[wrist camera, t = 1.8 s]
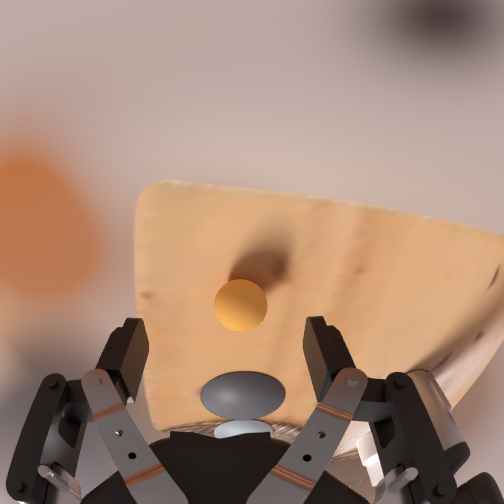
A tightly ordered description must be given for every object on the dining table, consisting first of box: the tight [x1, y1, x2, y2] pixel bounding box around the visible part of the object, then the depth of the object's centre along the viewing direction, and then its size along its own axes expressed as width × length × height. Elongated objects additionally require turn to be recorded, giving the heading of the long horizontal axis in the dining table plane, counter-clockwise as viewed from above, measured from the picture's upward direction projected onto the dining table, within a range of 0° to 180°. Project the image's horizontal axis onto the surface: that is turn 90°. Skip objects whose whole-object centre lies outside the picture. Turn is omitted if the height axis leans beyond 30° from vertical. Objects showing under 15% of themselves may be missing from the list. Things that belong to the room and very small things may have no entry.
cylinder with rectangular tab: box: [356, 432, 384, 486], centre depth 46 cm, size 9×9×12 cm
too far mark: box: [214, 419, 273, 438], centre depth 45 cm, size 11×11×1 cm
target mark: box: [201, 372, 285, 420], centre depth 40 cm, size 13×13×1 cm
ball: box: [214, 279, 267, 332], centre depth 30 cm, size 6×6×6 cm
